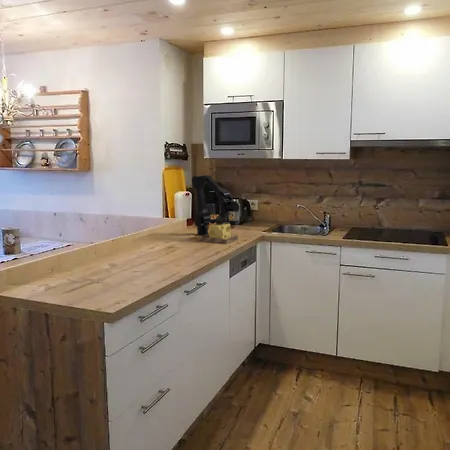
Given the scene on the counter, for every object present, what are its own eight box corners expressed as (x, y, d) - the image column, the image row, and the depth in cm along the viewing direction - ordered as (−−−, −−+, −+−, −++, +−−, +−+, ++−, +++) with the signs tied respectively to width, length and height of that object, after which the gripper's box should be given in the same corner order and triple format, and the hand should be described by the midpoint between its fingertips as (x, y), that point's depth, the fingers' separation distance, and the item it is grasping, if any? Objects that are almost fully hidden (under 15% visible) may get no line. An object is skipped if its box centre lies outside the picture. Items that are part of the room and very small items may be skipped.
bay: (199, 241, 276) (198, 237, 276) (210, 237, 288) (210, 233, 288) (227, 243, 266) (226, 239, 266) (237, 239, 278) (237, 235, 278)
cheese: (222, 242, 270) (222, 226, 268) (208, 241, 275) (207, 225, 274) (231, 239, 279) (231, 224, 277) (216, 238, 284) (216, 222, 282)
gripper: (205, 211, 279) (205, 236, 281) (231, 213, 270) (231, 238, 272) (214, 209, 288) (214, 233, 291) (239, 211, 279) (240, 235, 282)
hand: (224, 235), depth 284 cm, fingers closed, pressing on cheese
